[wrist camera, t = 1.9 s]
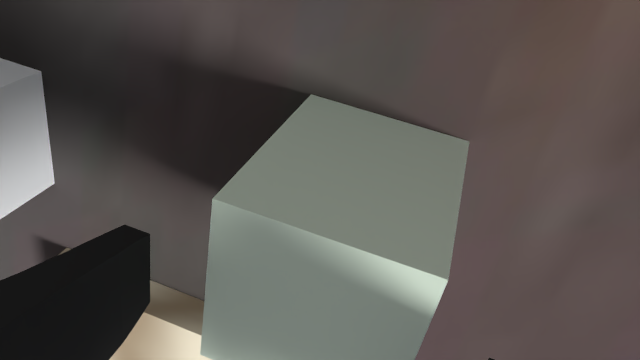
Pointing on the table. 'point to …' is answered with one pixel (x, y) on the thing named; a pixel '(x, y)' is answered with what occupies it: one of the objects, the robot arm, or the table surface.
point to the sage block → (333, 239)
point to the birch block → (165, 328)
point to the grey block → (22, 136)
